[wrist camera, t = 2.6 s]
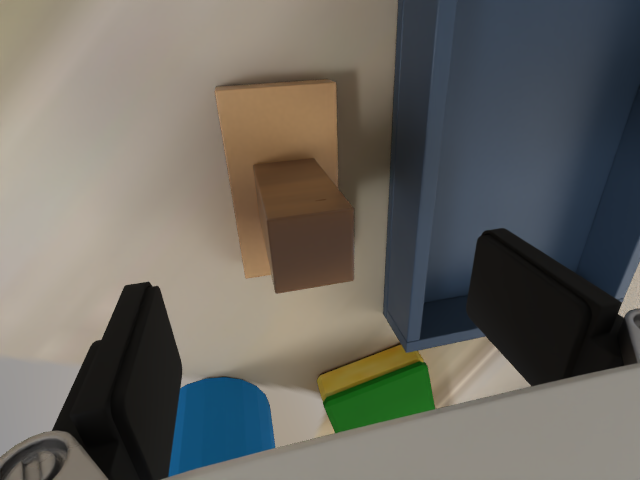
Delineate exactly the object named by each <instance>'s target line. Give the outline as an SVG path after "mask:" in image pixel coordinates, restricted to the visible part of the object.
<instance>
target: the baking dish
mask: <svg viewBox="0 0 640 480" xmlns="http://www.w3.org/2000/svg"><path fill="white" fill-rule="evenodd" d="M499 228H505V229H507V230H509V231H510V232H512V233H513V234H515V235H516V236H518V237H520V238H521V239H523V240H524V241H526V242H527V243H529V244H531V245H532V246H534V247H535V248H537V249H538V250H540V251H542V252H543V253H545V254H546V255H548V256H550V257H551V258H553V259H554V260H556V261H557V262H559V263H561V264H562V265H564V266H565V267H567V268H568V269H570V270H572V271H573V272H575V273H576V274H578V275H579V276H581V277H583V278H584V279H586V280H587V281H589V282H590V283H592V284H594V285H595V286H597V287H598V288H600V289H601V290H603V291H605V292H606V293H608V294H609V295H611V296H613V297H614V298H616V299H617V300H619V301H620V302H623V299H624V297H625V294H626V292H627V290H628V287H629V285H630V283H631V280H632V278H633V276H634V273H635V271H636V269H637V266H638V264H639V262H640V0H398V19H397V40H396V60H395V81H394V101H393V122H392V143H391V163H390V184H389V205H388V225H387V246H386V266H385V287H384V308H383V314H384V316H385V318H386V319H387V321H388V323H389V324H390V326H391V328H392V330H393V331H394V333H395V335H396V336H397V338H398V340H399V341H400V343H401V345H402V347H403V348H404V350H405V352H406V353H409V352H413V351H418V350H423V349H428V348H432V347H437V346H442V345H447V344H451V343H456V342H461V341H466V340H470V339H475V338H480V337H485V335H484V334H483V332H482V331H481V330H480V329H479V328H478V327H477V326H476V325H475V324H474V323H473V321H472V320H471V319H470V318H469V317H468V314H467V311H466V304H467V298H468V292H469V286H470V280H471V274H472V267H473V261H474V255H475V249H476V243H477V239H478V237H480V236H481V235H482V233H483V232H484V231H486V230H492V229H499Z"/></svg>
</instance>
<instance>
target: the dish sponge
mask: <svg viewBox="0 0 640 480" xmlns="http://www.w3.org/2000/svg"><path fill="white" fill-rule="evenodd" d="M317 383H318V387H319V390H320V394H321V398H322V400H323V405H324V408H325V410H326V412H327V415H328V417H329V419H330V422H331V424H332V426H333V429H334V431H335V433H339V432H343V431H347V430H351V429H355V428H359V427H363V426H367V425H372V424H376V423H380V422H384V421H388V420H392V419H396V418H401V417H405V416H409V415H413V414H417V413H422V412H426V411H430V410H434V409H435V406H434V400H433V395H432V389H431V383H430V378H429V372H428V367H427V365H426V363H425V362H423V359H422V357H421V355H420V354H419V352H418V351H413V352H409V353H406V352H405V350H404V348H403V347H402V345H398V346H395V347H393V348H390V349H388V350H385V351H382V352H380V353H377V354H375V355H372V356H369V357H367V358H364V359H362V360H359V361H356V362H354V363H351V364H349V365H346V366H343V367H341V368H338V369H336V370H333V371H330V372H328V373H325V374H323V375H320V376H319V378H318V379H317Z"/></svg>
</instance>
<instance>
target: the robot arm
mask: <svg viewBox="0 0 640 480" xmlns="http://www.w3.org/2000/svg"><path fill="white" fill-rule="evenodd" d="M621 304H622V302H620V301H619V300H617V299H616V298H614V297H613V296H611V295H609V294H608V293H606V292H605V291H603V290H601V289H600V288H598V287H597V286H595V285H594V284H592V283H590V282H589V281H587V280H586V279H584V278H583V277H581V276H579V275H578V274H576V273H575V272H573V271H572V270H570V269H568V268H567V267H565V266H564V265H562V264H561V263H559V262H557V261H556V260H554V259H553V258H551V257H550V256H548V255H546V254H545V253H543V252H542V251H540V250H538V249H537V248H535V247H534V246H532V245H531V244H529V243H527V242H526V241H524V240H523V239H521V238H520V237H518V236H516V235H515V234H513V233H512V232H510V231H509V230H507V229H505V228H499V229H492V230H486V231H484V232H483V233H482V235H481V236H480V237H478V239H477V243H476V249H475V255H474V261H473V267H472V274H471V280H470V286H469V292H468V298H467V304H466V311H467V314H468V317H469V318H470V319H471V320H472V321H473V323H474V324H475V325H476V326H477V327H478V328H479V329H480V330H481V331H482V332H483V334H484V335H485V336H486V337H487V338H488V339H489V340H490V341H491V342H492V343H493V344H494V346H495V347H496V348H497V349H498V350H499V351H500V352H501V353H502V354H503V355H504V357H505V358H506V359H507V360H508V361H509V362H510V363H511V364H512V365H513V366H514V367H515V369H516V370H517V371H518V372H519V373H520V374H521V375H522V376H523V377H524V378H525V380H526V381H527V382H528V383H529V384H530V385H531V386H532V387H528V388H523V389H519V390H515V391H510V392H506V393H502V394H497V395H493V396H489V397H485V398H480V399H476V400H472V401H468V402H464V403H459V404H455V405H451V406H447V407H442V408H438V409H434V410H430V411H426V412H422V413H417V414H413V415H409V416H405V417H401V418H396V419H392V420H388V421H384V422H380V423H376V424H372V425H367V426H363V427H359V428H355V429H351V430H347V431H343V432H339V433H335V434H331V435H327V436H322V437H318V438H314V439H310V440H306V441H302V442H298V443H294V444H290V445H286V446H282V447H277V448H273V449H269V450H266V451H262V452H258V453H254V454H250V455H246V456H243V457H239V458H235V459H231V460H227V461H224V462H220V463H216V464H212V465H208V466H204V467H201V468H197V469H194V470H190V471H187V472H184V473H180V474H177V475H174V476H171V477H168V475H169V468H170V460H171V453H172V445H173V438H174V431H175V423H176V416H177V408H178V401H179V393H180V386H181V379H182V364H181V359H180V356H179V352H178V349H177V345H176V342H175V339H174V335H173V332H172V328H171V325H170V322H169V318H168V315H167V311H166V308H165V304H164V301H163V298H162V294H161V291H160V288H159V287H158V286H154V287H152V285H151V284H150V283H149V282H144V283H138V284H131V285H126V286H125V287H124V289H123V291H122V293H121V296H120V298H119V300H118V303H117V305H116V307H115V310H114V312H113V314H112V317H111V319H110V321H109V324H108V326H107V328H106V331H105V333H104V335H103V338H102V340H98V341H95V342H94V343H93V344H92V345H91V347H90V349H89V351H88V353H87V355H86V357H85V360H84V362H83V364H82V366H81V368H80V370H79V373H78V375H77V377H76V379H75V382H74V384H73V386H72V388H71V390H70V393H69V395H68V397H67V399H66V401H65V403H64V406H63V408H62V410H61V412H60V414H59V416H58V419H57V421H56V423H55V425H54V427H53V430H52V431H50V432H43V433H41V434H38V435H35V436H32V437H30V438H28V439H26V440H24V441H23V442H21V443H19V444H17V445H15V446H14V447H13V448H11V449H10V450H9V451H8V452H6V453H5V454H4V455H2V456H1V457H0V480H640V309H634V310H630V311H629V312H628V313H627V314H626V315H625V317H624V318H623V317H621V316H620V315H618V312H619V309H620V307H621Z"/></svg>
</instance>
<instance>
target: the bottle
mask: <svg viewBox="0 0 640 480" xmlns="http://www.w3.org/2000/svg"><path fill="white" fill-rule="evenodd" d="M273 448H275V441H274V434H273V426H272V419H271V411H270V405H269V402H268V400H267V397H266V395H265V394H264V393H263V392H262V391H261V390H260V389H259V388H258V387H257V386H255V385H253V384H251V383H249V382H246V381H244V380H241V379H235V378H228V377H219V378H207V379H203V380H200V381H196V382H193V383H190V384H187V385H185V386H184V387H182V388H180V393H179V401H178V408H177V416H176V423H175V431H174V438H173V445H172V453H171V460H170V468H169V475H168V477H171V476H174V475H177V474H180V473H184V472H187V471H190V470H194V469H197V468H201V467H204V466H208V465H212V464H216V463H220V462H224V461H227V460H231V459H235V458H239V457H243V456H246V455H250V454H254V453H258V452H262V451H266V450H269V449H273Z"/></svg>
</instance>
